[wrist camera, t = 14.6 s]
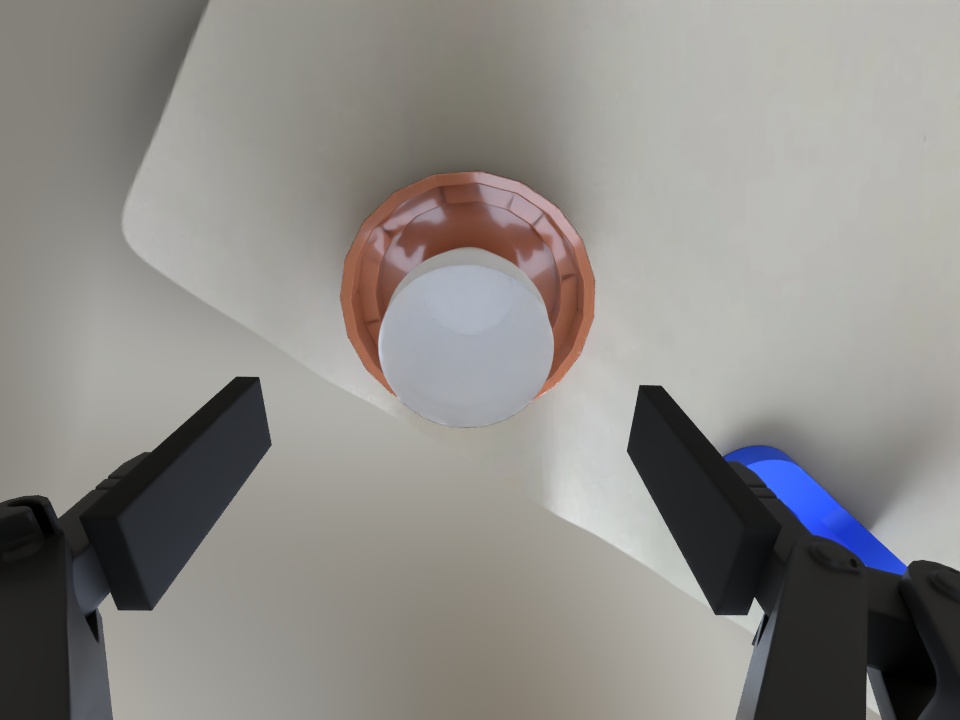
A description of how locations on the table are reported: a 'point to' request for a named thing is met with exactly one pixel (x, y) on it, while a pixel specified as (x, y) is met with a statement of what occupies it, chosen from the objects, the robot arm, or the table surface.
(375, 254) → the bowl
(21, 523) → the robot arm
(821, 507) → the bracket
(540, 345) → the cup
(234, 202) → the table surface
